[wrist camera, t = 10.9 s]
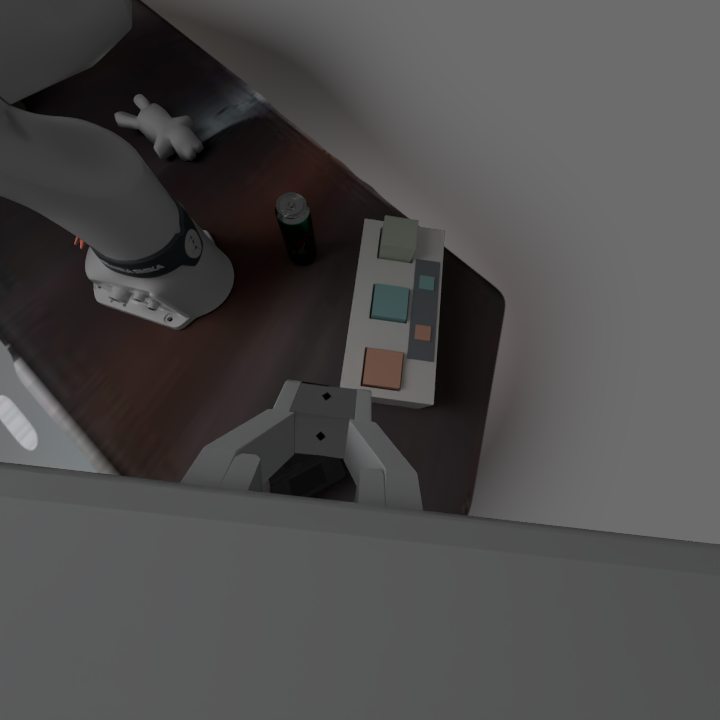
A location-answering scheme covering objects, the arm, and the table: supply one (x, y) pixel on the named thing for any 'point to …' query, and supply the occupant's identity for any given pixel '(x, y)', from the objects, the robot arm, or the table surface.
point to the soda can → (296, 228)
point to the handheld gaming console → (306, 475)
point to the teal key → (389, 303)
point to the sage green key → (398, 239)
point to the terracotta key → (382, 369)
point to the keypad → (408, 337)
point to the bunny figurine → (163, 130)
